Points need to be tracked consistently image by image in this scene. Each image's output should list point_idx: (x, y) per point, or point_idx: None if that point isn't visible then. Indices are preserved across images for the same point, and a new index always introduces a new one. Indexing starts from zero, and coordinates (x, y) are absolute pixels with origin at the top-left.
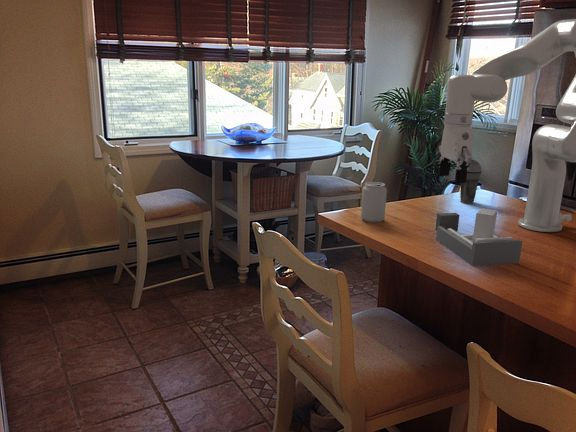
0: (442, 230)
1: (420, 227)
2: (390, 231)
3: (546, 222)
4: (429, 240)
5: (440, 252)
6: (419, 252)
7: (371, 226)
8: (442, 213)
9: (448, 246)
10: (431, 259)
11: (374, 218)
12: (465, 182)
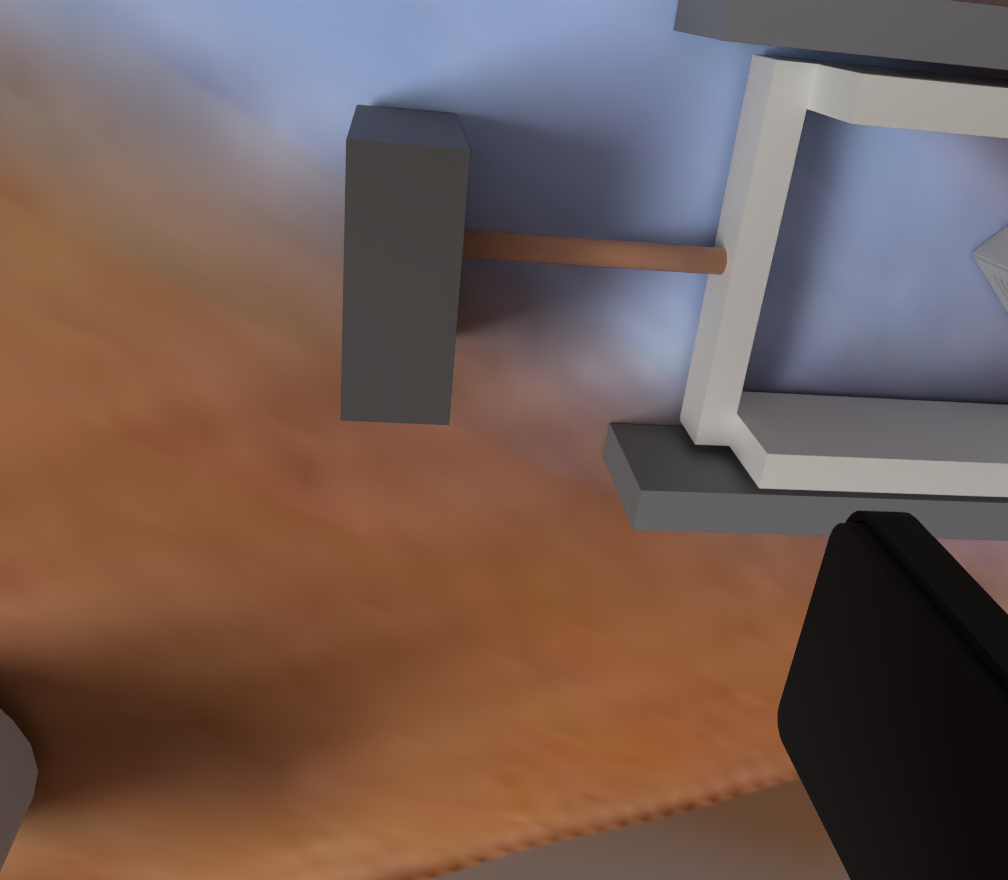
0: (744, 529)
1: (209, 424)
2: (295, 713)
3: None
4: (599, 516)
5: None
6: None
7: (135, 800)
8: (354, 352)
9: None
10: None
11: (27, 800)
12: (902, 517)
